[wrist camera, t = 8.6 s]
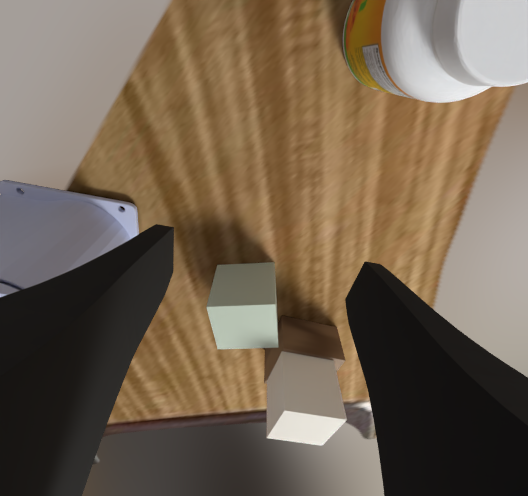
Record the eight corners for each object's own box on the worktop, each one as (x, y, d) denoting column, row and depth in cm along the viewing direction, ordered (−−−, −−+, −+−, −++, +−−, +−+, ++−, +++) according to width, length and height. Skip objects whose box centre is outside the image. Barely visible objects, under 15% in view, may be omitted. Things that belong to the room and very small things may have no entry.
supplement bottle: (414, -77, 12) (697, -352, 4) (463, 31, 14) (713, -12, 6) (320, 31, 14) (385, -13, 6) (374, 110, 16) (475, 154, 8)
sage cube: (225, 304, 26) (217, 349, 22) (217, 264, 24) (206, 306, 19) (277, 302, 26) (278, 347, 22) (274, 261, 23) (275, 304, 19)
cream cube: (267, 380, 27) (266, 438, 23) (282, 351, 24) (284, 410, 20) (314, 388, 27) (322, 445, 23) (333, 360, 25) (346, 419, 21)
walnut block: (264, 348, 30) (264, 383, 27) (281, 313, 27) (283, 348, 24) (314, 358, 31) (319, 392, 28) (336, 325, 28) (345, 360, 25)
